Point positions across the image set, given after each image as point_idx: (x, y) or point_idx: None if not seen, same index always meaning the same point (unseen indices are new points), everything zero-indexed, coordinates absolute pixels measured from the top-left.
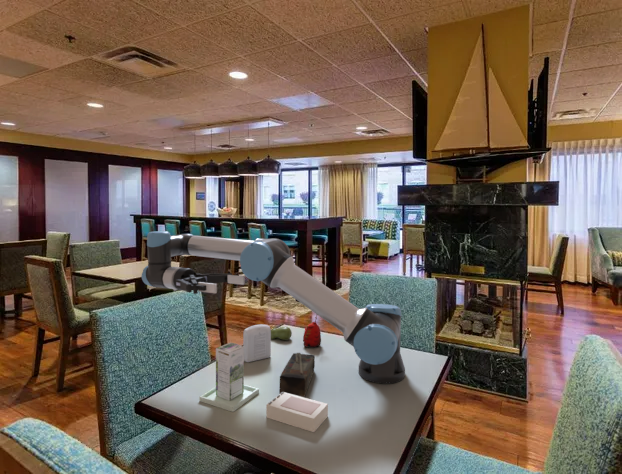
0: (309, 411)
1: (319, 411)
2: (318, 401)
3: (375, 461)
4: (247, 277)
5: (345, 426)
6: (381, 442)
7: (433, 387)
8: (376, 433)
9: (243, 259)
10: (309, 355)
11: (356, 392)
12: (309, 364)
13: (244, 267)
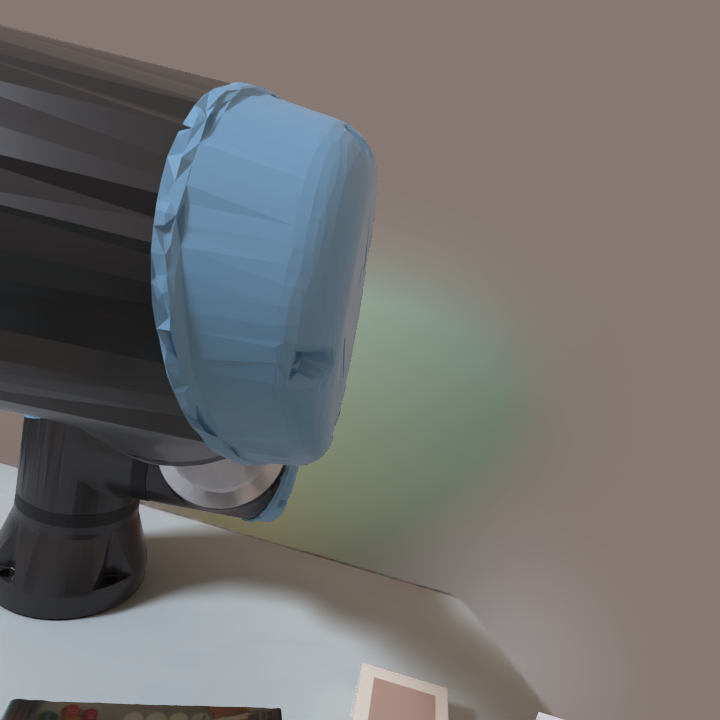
0: (422, 700)
1: (408, 678)
2: (359, 684)
3: (461, 619)
4: (313, 460)
5: (379, 658)
6: (403, 606)
7: (159, 509)
8: (378, 610)
9: (350, 300)
10: (20, 715)
11: (200, 632)
12: (135, 706)
13: (338, 378)
